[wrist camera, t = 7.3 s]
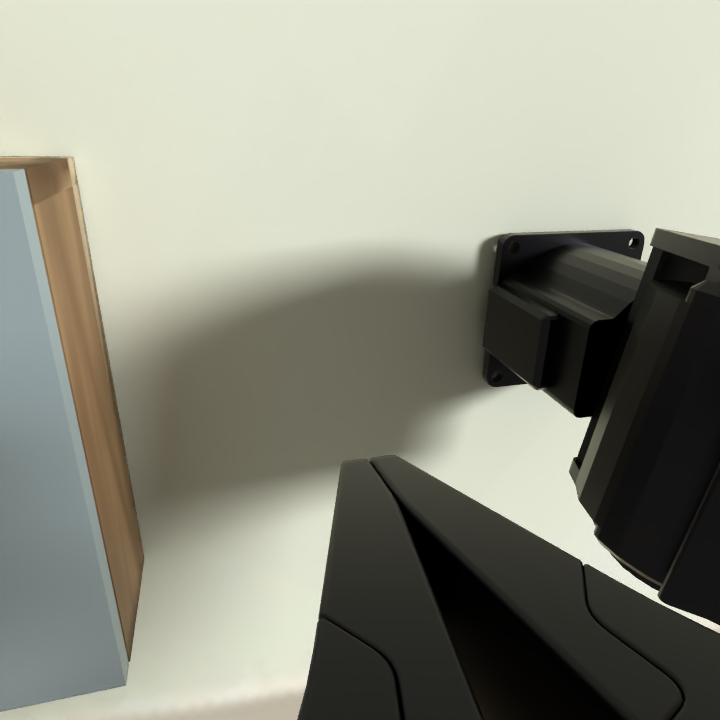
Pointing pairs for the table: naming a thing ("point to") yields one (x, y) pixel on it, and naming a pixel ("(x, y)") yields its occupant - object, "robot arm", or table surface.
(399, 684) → the robot arm
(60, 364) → the square plate with post
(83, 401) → the box
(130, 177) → the table surface
